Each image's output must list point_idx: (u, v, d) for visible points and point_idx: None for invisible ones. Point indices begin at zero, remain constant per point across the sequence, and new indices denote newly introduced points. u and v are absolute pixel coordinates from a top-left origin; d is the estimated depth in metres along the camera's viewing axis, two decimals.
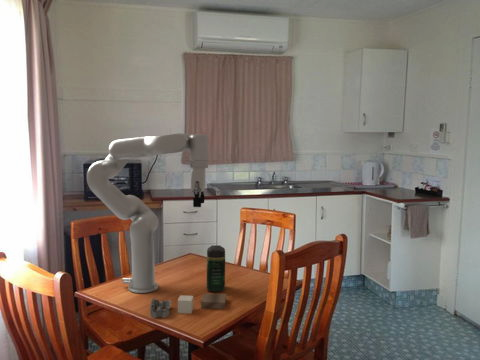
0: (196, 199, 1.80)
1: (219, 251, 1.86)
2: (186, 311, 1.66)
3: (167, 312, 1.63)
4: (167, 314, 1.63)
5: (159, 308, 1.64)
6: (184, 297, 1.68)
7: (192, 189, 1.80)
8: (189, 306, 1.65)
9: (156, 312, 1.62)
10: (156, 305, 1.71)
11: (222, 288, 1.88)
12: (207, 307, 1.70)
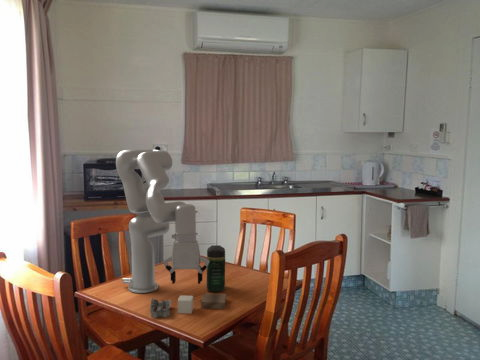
0: None
1: (219, 251, 1.86)
2: (186, 311, 1.66)
3: (167, 312, 1.63)
4: (167, 314, 1.63)
5: (159, 308, 1.64)
6: (184, 297, 1.68)
7: (198, 265, 1.64)
8: (189, 306, 1.65)
9: (157, 312, 1.62)
10: (155, 305, 1.71)
11: (222, 288, 1.88)
12: (207, 307, 1.70)
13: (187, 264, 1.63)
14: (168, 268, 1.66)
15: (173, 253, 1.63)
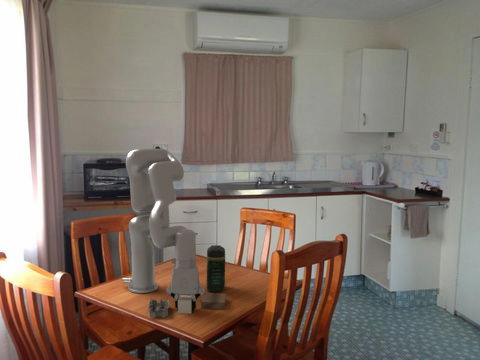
0: (195, 302, 1.67)
1: (219, 251, 1.86)
2: (186, 311, 1.66)
3: (166, 312, 1.63)
4: (166, 314, 1.63)
5: (158, 308, 1.64)
6: (184, 297, 1.68)
7: None
8: (189, 306, 1.65)
9: (155, 312, 1.62)
10: (154, 306, 1.71)
11: (222, 288, 1.88)
12: (207, 307, 1.70)
13: (186, 289, 1.64)
14: (173, 295, 1.67)
15: (172, 278, 1.65)
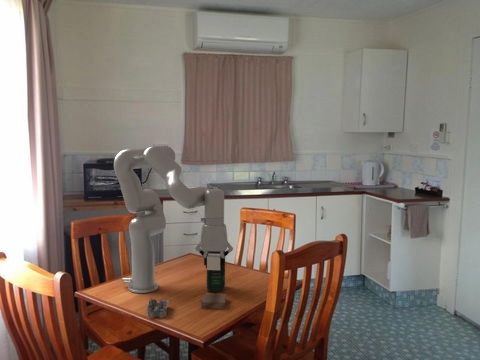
0: (223, 259, 1.72)
1: None
2: (215, 268, 1.70)
3: (164, 312, 1.63)
4: (164, 314, 1.63)
5: (156, 308, 1.64)
6: (212, 255, 1.73)
7: (226, 248, 1.70)
8: (218, 263, 1.70)
9: (153, 312, 1.62)
10: (154, 305, 1.71)
11: (222, 288, 1.88)
12: (207, 307, 1.70)
13: (215, 246, 1.69)
14: (202, 253, 1.72)
15: (202, 235, 1.69)
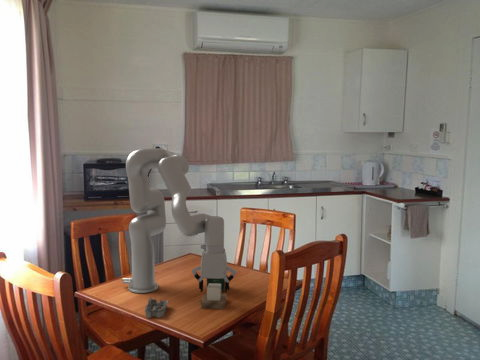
0: (228, 284, 1.73)
1: None
2: (215, 298, 1.72)
3: (162, 312, 1.63)
4: (162, 314, 1.63)
5: (154, 308, 1.64)
6: (213, 285, 1.75)
7: (226, 275, 1.71)
8: (218, 293, 1.72)
9: (150, 312, 1.62)
10: (154, 305, 1.72)
11: (222, 288, 1.88)
12: (207, 307, 1.70)
13: (215, 274, 1.70)
14: (197, 277, 1.73)
15: (202, 262, 1.71)
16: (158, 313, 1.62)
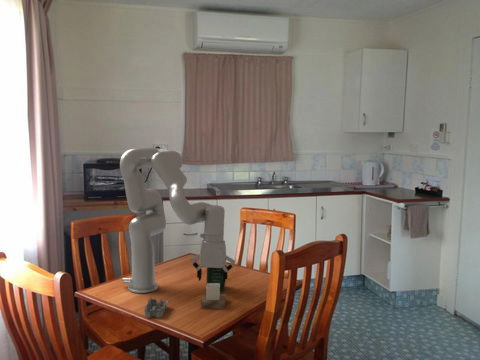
0: None
1: None
2: (214, 298, 1.72)
3: (161, 312, 1.62)
4: (161, 314, 1.63)
5: (154, 308, 1.64)
6: (211, 285, 1.75)
7: (225, 264, 1.71)
8: (217, 293, 1.72)
9: (150, 312, 1.62)
10: (154, 305, 1.72)
11: (222, 288, 1.88)
12: (207, 307, 1.70)
13: (214, 263, 1.70)
14: (195, 265, 1.73)
15: (201, 251, 1.70)
16: (157, 313, 1.62)
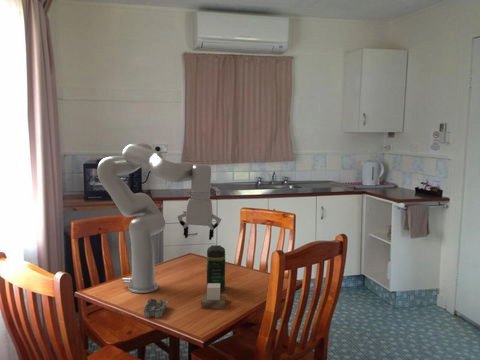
0: (213, 231, 1.76)
1: (219, 251, 1.86)
2: (215, 298, 1.72)
3: (160, 312, 1.62)
4: (160, 314, 1.63)
5: (153, 308, 1.64)
6: (212, 285, 1.75)
7: None
8: (218, 293, 1.72)
9: (149, 312, 1.62)
10: (154, 305, 1.72)
11: (222, 288, 1.88)
12: (207, 307, 1.70)
13: (200, 220, 1.73)
14: (182, 223, 1.76)
15: (187, 209, 1.73)
16: (156, 313, 1.62)
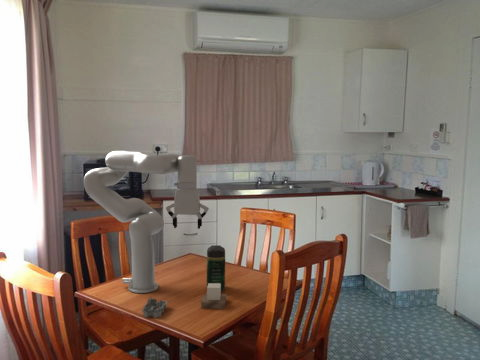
0: (201, 220, 1.80)
1: (219, 251, 1.86)
2: (215, 298, 1.72)
3: (158, 312, 1.62)
4: (158, 314, 1.62)
5: (152, 308, 1.64)
6: (212, 285, 1.75)
7: (198, 211, 1.78)
8: (218, 293, 1.72)
9: (148, 311, 1.62)
10: (154, 305, 1.72)
11: (222, 288, 1.88)
12: (207, 307, 1.70)
13: (188, 210, 1.77)
14: (170, 214, 1.80)
15: (175, 199, 1.78)
16: (155, 313, 1.62)
